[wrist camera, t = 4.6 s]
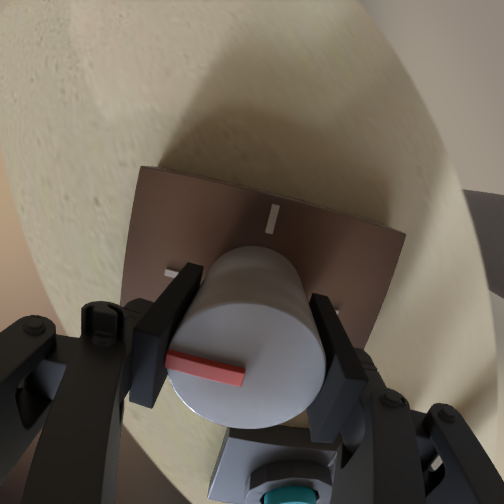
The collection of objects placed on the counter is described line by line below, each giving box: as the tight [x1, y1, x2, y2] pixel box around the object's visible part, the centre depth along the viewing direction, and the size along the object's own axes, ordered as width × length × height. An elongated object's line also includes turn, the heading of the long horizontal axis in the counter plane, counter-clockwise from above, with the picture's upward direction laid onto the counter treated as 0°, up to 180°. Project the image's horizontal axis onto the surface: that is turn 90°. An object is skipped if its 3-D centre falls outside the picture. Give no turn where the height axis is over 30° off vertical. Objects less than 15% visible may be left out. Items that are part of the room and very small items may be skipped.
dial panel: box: [120, 166, 406, 350], centre depth 17 cm, size 14×10×3 cm
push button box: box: [207, 425, 343, 504], centre depth 20 cm, size 12×10×4 cm
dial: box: [165, 246, 326, 429], centre depth 12 cm, size 5×5×7 cm
